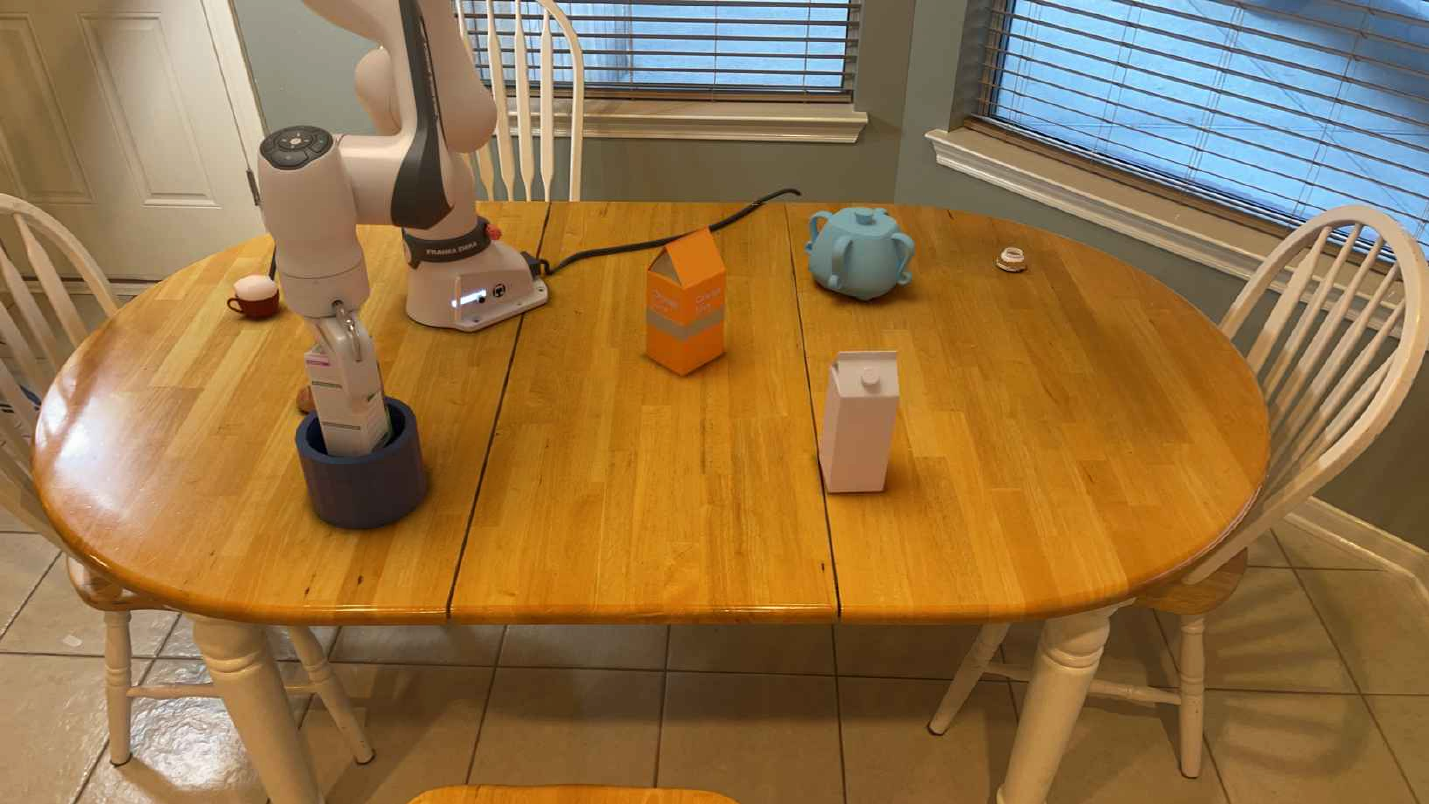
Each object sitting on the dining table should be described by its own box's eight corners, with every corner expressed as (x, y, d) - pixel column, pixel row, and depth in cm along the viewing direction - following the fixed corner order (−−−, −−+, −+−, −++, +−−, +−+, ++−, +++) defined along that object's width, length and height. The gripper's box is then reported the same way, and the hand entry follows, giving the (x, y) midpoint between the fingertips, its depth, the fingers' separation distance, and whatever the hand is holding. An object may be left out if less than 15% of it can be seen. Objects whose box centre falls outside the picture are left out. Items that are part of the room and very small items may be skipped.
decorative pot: (890, 260, 181) (901, 189, 173) (913, 305, 168) (926, 230, 160) (800, 262, 180) (807, 190, 172) (816, 307, 166) (824, 232, 159)
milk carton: (818, 458, 134) (833, 336, 123) (871, 457, 135) (890, 335, 124) (827, 493, 129) (844, 368, 118) (882, 492, 129) (904, 367, 118)
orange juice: (723, 354, 154) (728, 234, 143) (682, 376, 149) (684, 254, 137) (686, 334, 158) (688, 216, 147) (645, 355, 153) (644, 235, 141)
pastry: (297, 422, 137) (291, 399, 135) (297, 395, 142) (292, 372, 140) (370, 411, 139) (365, 388, 137) (368, 385, 145) (363, 362, 142)
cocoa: (230, 325, 156) (210, 255, 149) (235, 304, 161) (216, 236, 154) (295, 319, 158) (279, 250, 151) (299, 299, 163) (283, 231, 156)
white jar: (1023, 261, 182) (994, 258, 183) (1026, 246, 181) (998, 243, 181) (1026, 274, 178) (997, 271, 179) (1029, 259, 177) (1000, 256, 177)
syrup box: (372, 464, 119) (350, 360, 111) (325, 456, 120) (300, 353, 111) (394, 435, 124) (375, 333, 115) (349, 428, 124) (327, 326, 116)
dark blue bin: (405, 445, 134) (394, 383, 128) (442, 504, 124) (432, 440, 119) (299, 479, 127) (282, 414, 122) (329, 544, 118) (313, 478, 112)
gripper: (385, 319, 103) (404, 428, 111) (329, 239, 117) (349, 341, 125) (321, 335, 100) (346, 445, 108) (272, 251, 114) (296, 354, 122)
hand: (347, 388), depth 117 cm, fingers closed on syrup box, 7 cm apart
